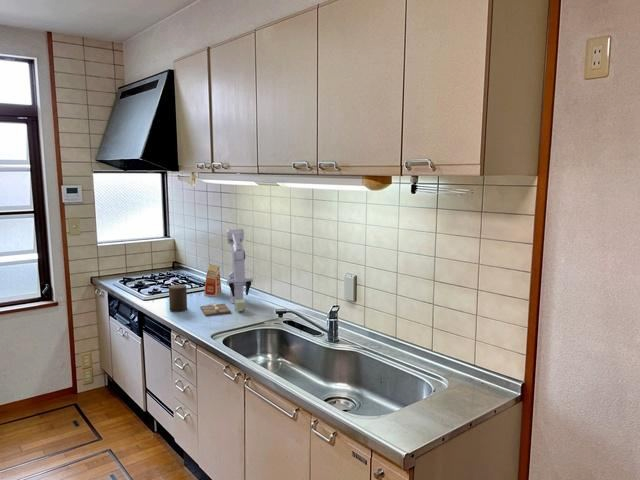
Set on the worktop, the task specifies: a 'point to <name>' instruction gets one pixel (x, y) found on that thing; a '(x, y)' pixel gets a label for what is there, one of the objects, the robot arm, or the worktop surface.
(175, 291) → the pillar candle
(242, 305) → the saddle block
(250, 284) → the robot arm
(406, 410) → the worktop surface
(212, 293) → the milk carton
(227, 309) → the cleat board
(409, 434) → the worktop surface
